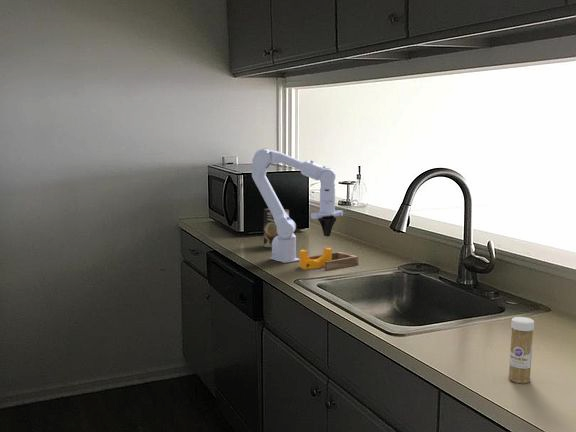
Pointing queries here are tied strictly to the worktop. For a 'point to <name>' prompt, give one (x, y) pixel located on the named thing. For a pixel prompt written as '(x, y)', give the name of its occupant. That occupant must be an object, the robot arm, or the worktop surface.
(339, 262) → the brown wooden tray
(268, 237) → the coffee box
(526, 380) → the sprinkles bottle
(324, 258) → the pipe clamp
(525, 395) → the worktop surface
